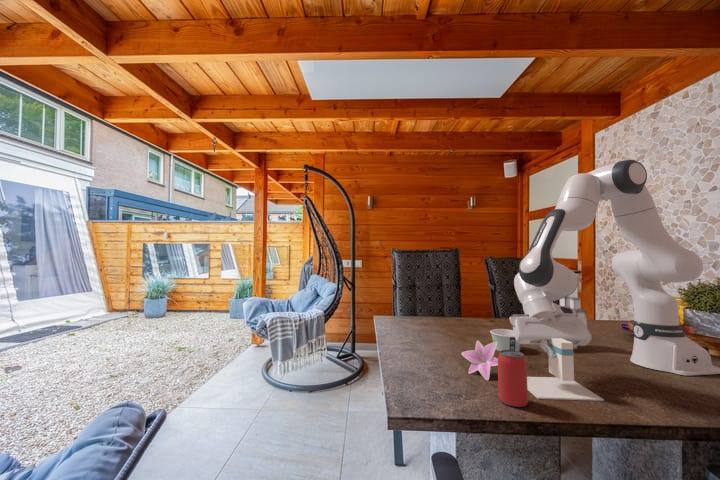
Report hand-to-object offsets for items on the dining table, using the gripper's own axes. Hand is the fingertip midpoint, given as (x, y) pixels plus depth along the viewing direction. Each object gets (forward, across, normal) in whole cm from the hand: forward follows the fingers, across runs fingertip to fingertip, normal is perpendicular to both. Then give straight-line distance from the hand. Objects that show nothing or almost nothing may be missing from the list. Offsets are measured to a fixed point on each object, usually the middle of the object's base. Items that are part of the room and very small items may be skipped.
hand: (561, 357), depth 84 cm
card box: (+3, 0, +4) cm, 5 cm away
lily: (-1, -18, +14) cm, 23 cm away
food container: (-20, 0, +33) cm, 39 cm away
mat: (+6, -2, +7) cm, 9 cm away
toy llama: (-23, +23, +36) cm, 48 cm away
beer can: (+12, -17, 0) cm, 21 cm away
